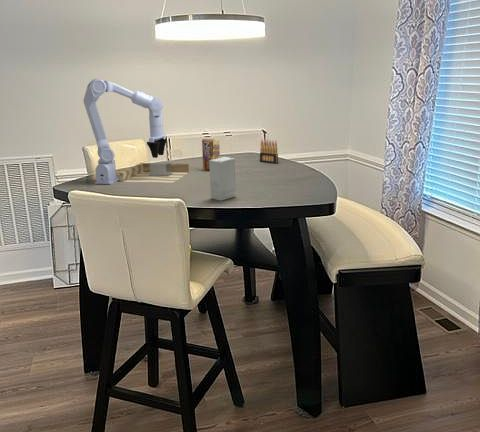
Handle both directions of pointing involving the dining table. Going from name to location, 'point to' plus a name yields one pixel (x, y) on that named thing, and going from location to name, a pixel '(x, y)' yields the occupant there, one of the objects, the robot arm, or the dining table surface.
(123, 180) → the arena
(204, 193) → the dining table surface
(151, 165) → the bracket
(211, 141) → the candy box
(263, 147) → the ammunition clip
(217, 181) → the skincare box
